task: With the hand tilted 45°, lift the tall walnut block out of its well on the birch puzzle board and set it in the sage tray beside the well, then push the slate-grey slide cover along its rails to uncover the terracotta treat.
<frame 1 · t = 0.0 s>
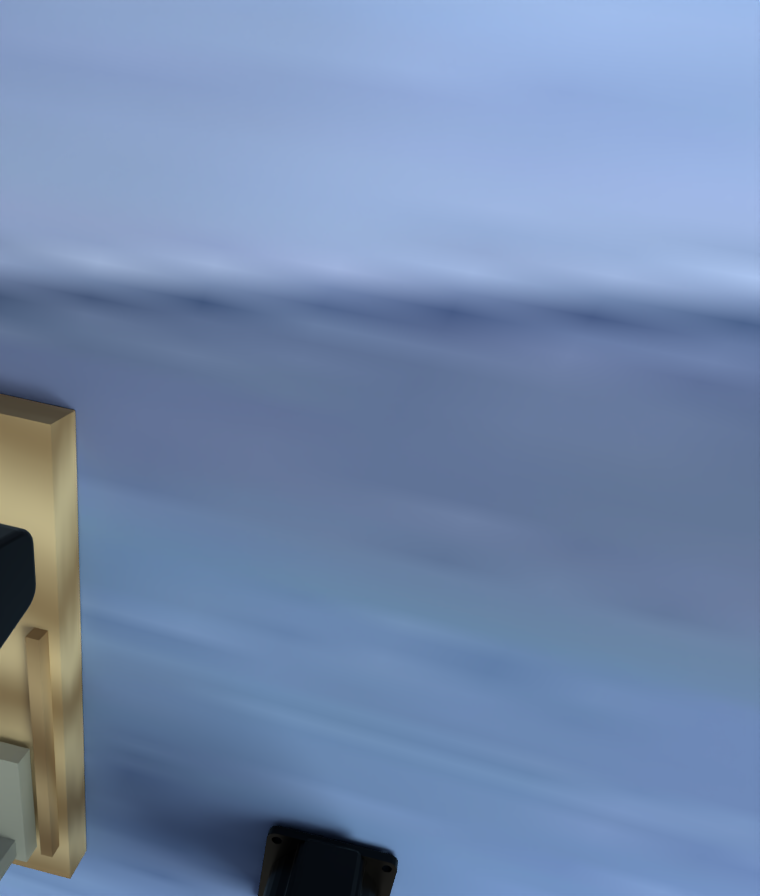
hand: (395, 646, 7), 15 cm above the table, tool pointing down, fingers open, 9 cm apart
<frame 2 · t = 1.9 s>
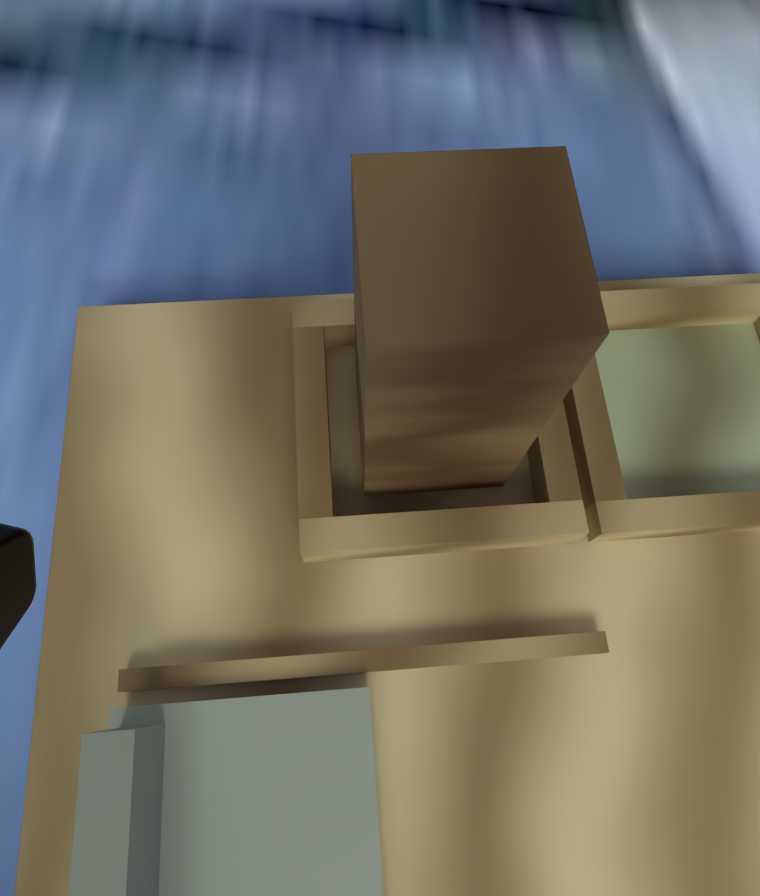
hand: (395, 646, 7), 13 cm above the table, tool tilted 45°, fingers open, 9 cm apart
puzzle board: (469, 597, 21), on the table
slide cover: (234, 854, 15), point 3 cm above the table, slide at 0.0 cm
walnut block: (426, 426, 21), point 2 cm above the table, touching puzzle board
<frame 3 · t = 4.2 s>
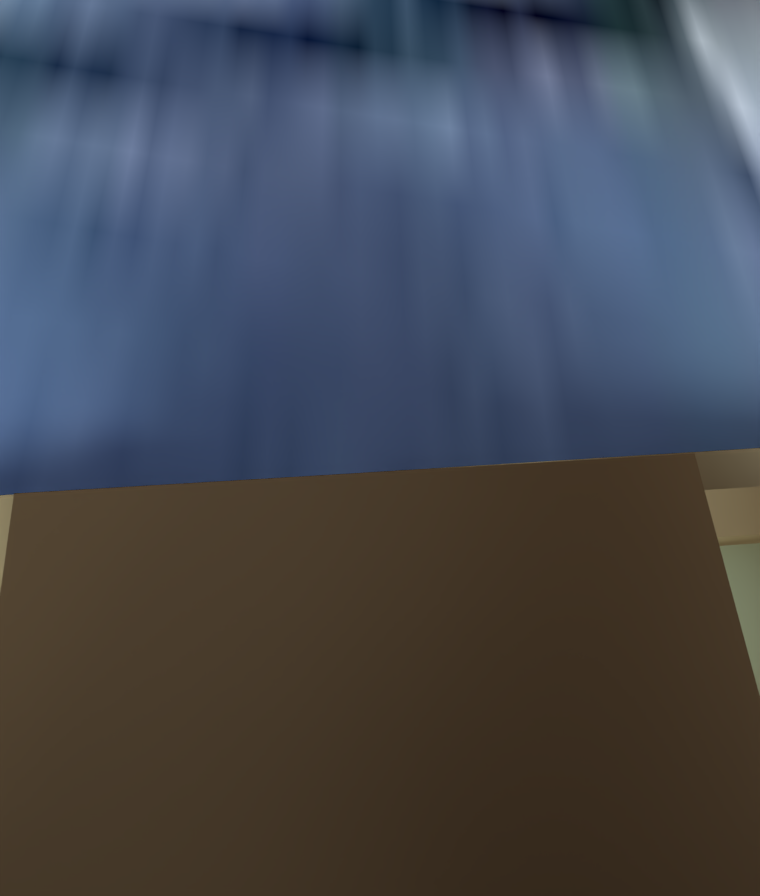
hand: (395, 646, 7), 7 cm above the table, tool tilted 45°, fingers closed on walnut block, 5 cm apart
walnut block: (366, 739, 12), point 2 cm above the table, touching gripper, puzzle board
when the fingers open (9 cm above the table, at t = 7.2 s): walnut block drops 1 cm, resting on puzzle board.
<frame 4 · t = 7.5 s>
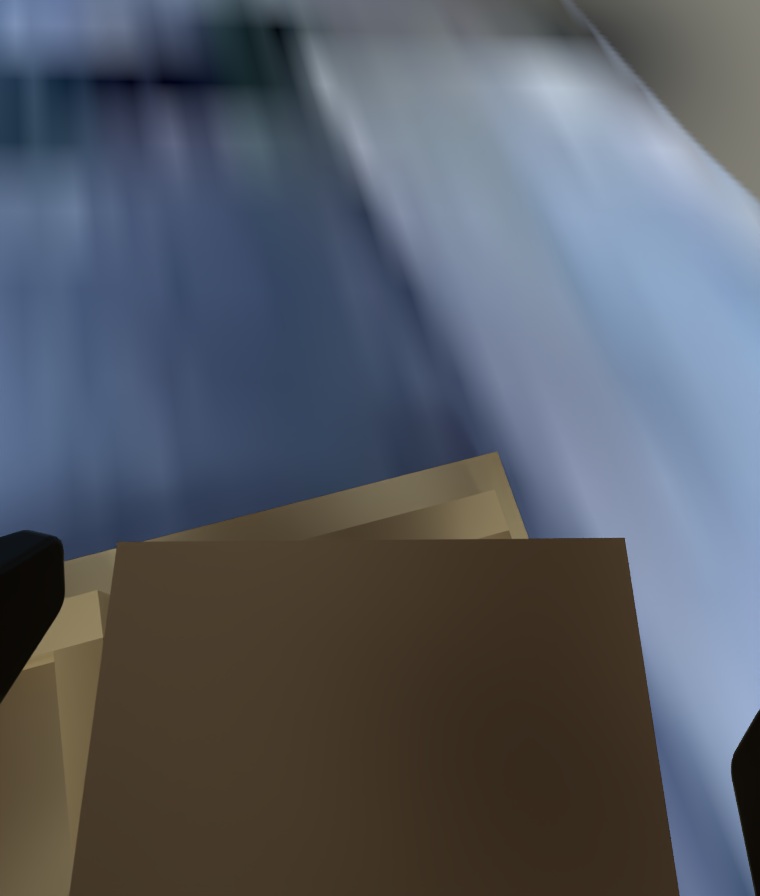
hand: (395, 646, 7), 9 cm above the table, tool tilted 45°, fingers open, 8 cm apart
walnut block: (367, 738, 14), point 2 cm above the table, touching puzzle board
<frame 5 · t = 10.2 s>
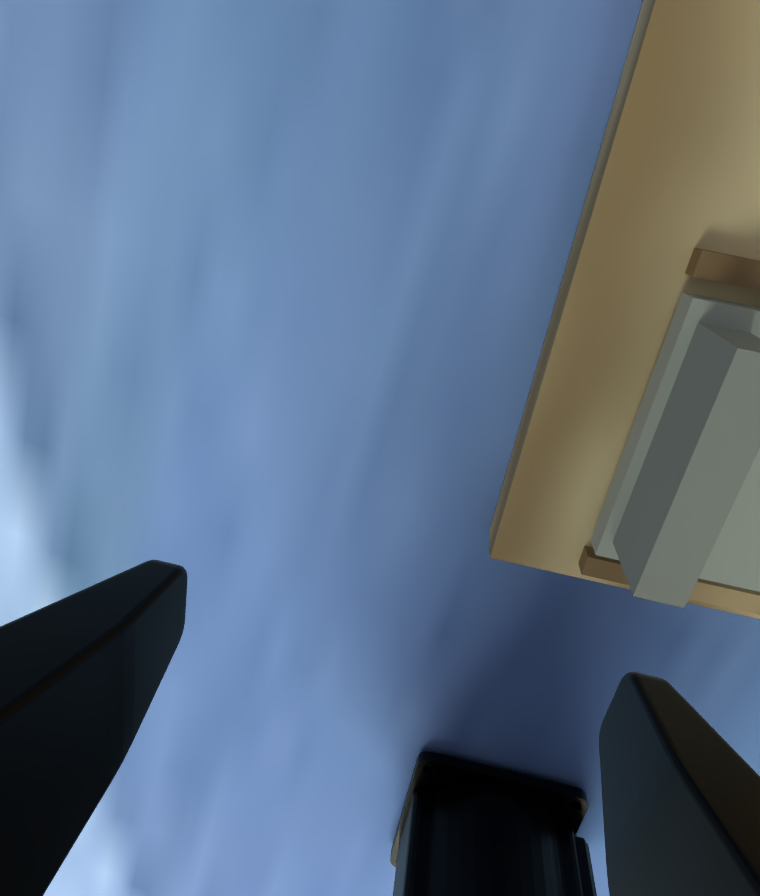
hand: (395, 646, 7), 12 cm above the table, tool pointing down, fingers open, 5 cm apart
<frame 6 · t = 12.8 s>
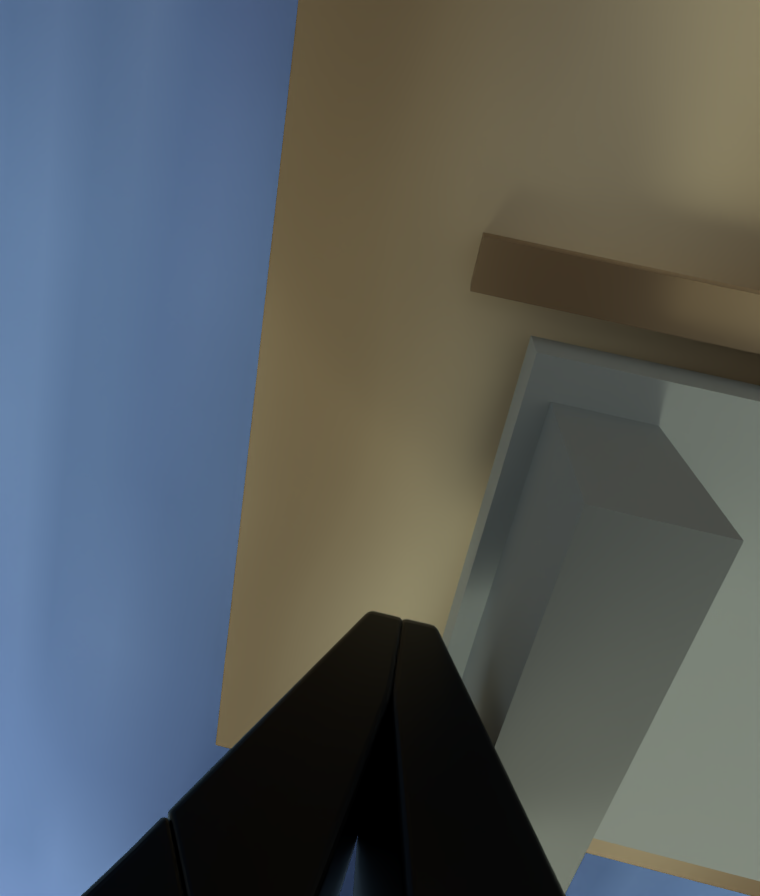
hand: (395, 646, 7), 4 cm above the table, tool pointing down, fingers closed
slide cover: (754, 724, 7), point 3 cm above the table, slide at 0.8 cm, touching gripper
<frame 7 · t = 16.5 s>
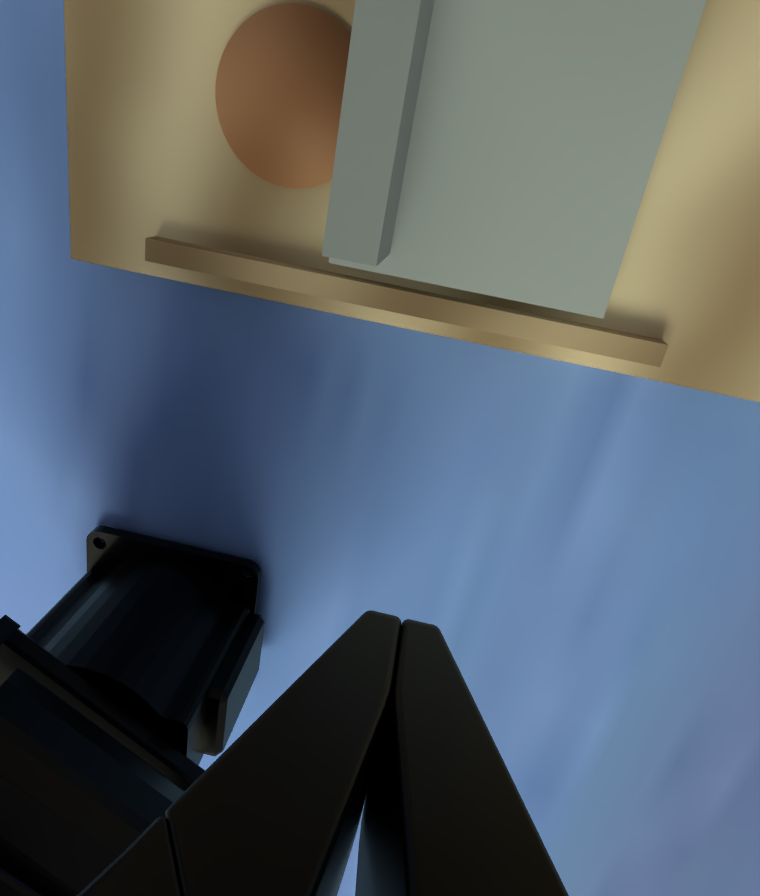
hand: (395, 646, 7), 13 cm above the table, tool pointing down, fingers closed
slide cover: (500, 134, 14), point 3 cm above the table, slide at 5.1 cm
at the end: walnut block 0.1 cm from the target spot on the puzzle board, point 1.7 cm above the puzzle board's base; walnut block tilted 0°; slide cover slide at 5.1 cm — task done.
